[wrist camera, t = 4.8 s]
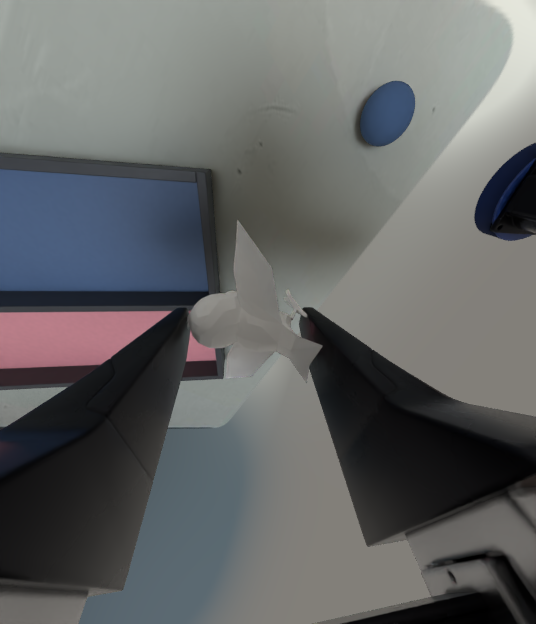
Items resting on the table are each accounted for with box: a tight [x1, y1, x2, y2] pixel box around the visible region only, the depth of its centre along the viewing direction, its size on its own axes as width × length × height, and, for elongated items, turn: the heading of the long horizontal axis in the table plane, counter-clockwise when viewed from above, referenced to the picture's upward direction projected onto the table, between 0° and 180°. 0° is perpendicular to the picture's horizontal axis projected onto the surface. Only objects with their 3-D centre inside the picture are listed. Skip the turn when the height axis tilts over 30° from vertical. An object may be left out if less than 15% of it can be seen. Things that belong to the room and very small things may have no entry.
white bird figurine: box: [186, 219, 322, 383], centre depth 9 cm, size 8×5×5 cm, turn 171°
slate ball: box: [360, 81, 415, 146], centre depth 13 cm, size 3×3×3 cm
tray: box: [0, 153, 225, 390], centre depth 18 cm, size 32×20×3 cm, turn 86°
